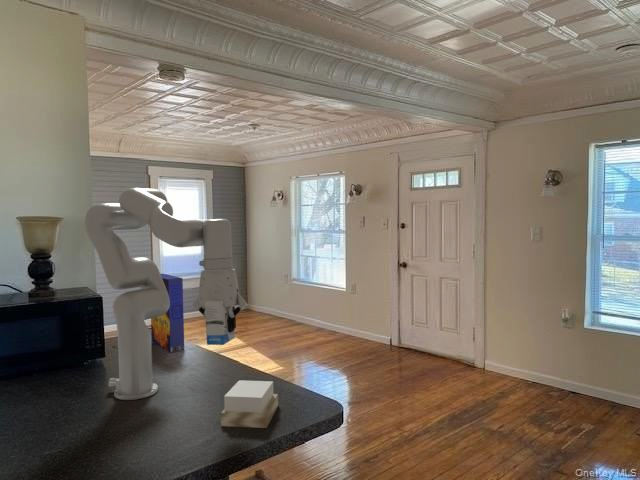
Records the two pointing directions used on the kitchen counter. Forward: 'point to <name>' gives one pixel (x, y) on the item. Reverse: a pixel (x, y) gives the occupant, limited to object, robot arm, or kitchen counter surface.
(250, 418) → the lower block
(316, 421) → the kitchen counter surface
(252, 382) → the upper block
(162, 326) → the cereal box
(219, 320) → the ink box
